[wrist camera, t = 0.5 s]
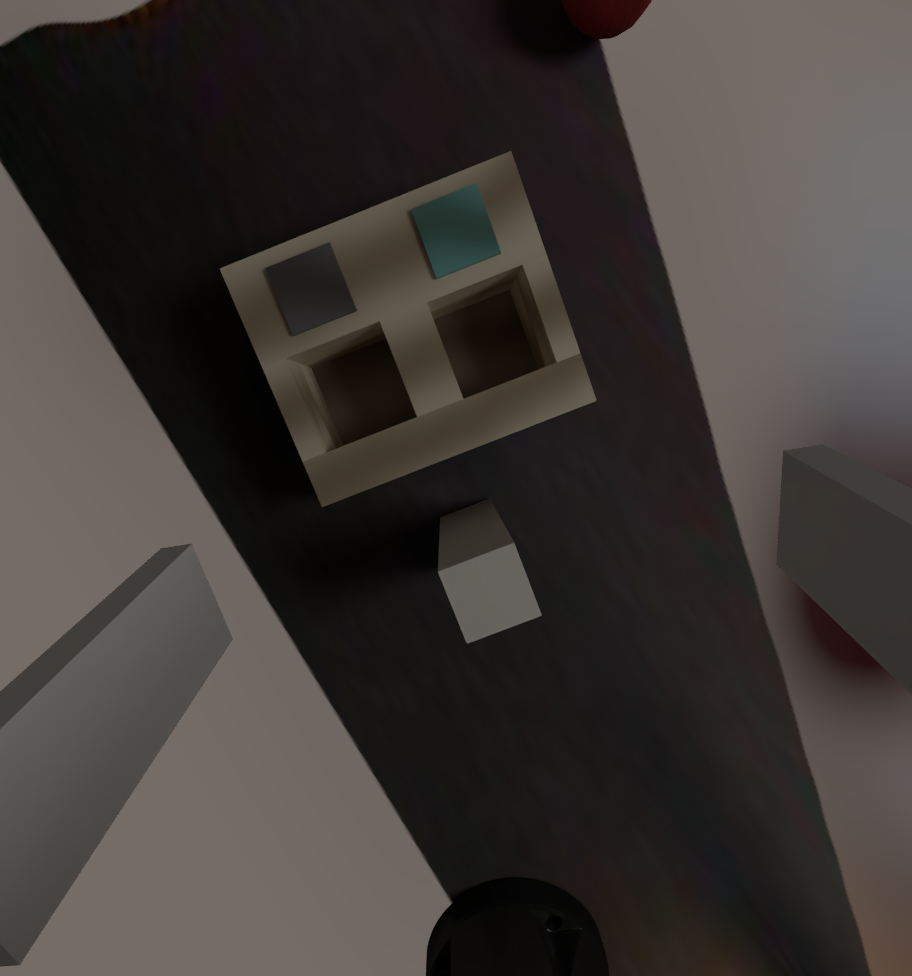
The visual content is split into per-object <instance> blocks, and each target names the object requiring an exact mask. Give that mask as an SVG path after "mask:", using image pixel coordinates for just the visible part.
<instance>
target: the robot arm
mask: <svg viewBox="0 0 912 976" xmlns="http://www.w3.org/2000/svg"><path fill="white" fill-rule="evenodd" d="M782 465H783V466H782V482H781V499H780V500H781V501H780V516H779V533H778V551H777V565H778V566H779V567H780V568H781V569H782V570H783V571H784V572H785V573H786V574H787V575H788V576H789V577H790V578H791V579H792V580H793V581H794V582H795V583H796V584H797V585H799V586H800V587H801V588H802V589H803V590H804V591H805V592H806V593H807V594H808V595H809V596H810V597H811V598H812V599H813V600H814V601H815V602H816V603H817V604H818V605H819V606H820V607H821V608H822V609H823V610H825V611H826V612H827V613H828V614H829V615H830V616H831V617H832V618H833V619H834V620H835V621H836V622H837V623H838V624H839V625H840V626H841V627H842V628H843V629H844V630H845V631H846V632H847V633H848V634H850V636H852V637H853V638H854V639H855V640H856V641H857V642H858V643H859V644H860V645H861V646H862V647H863V648H864V649H865V650H866V651H867V652H868V653H869V654H870V655H871V656H872V657H873V658H874V659H875V660H877V662H879V663H880V664H881V665H882V666H883V667H884V668H885V669H886V670H887V671H888V672H889V673H890V674H891V675H892V676H893V677H894V678H895V679H896V680H897V681H898V682H899V683H900V684H901V685H902V686H903V687H904V688H905V689H906V690H908V691H909V692H910V693H911V694H912V489H911V488H909V487H907V486H905V485H902V484H901V483H899V482H896V481H895V480H893V479H891V478H888V477H887V476H885V475H883V474H880V473H879V472H877V471H875V470H872V469H871V468H868V467H866V466H864V465H862V464H860V463H858V462H856V461H854V460H852V459H850V458H848V457H846V456H844V455H842V454H840V453H838V452H836V451H834V450H832V449H830V448H828V447H826V446H824V445H817V446H811V447H804V448H797V449H791V450H785V451H783V464H782ZM231 641H232V636H231V634H230V631H229V629H228V627H227V625H226V622H225V620H224V618H223V615H222V613H221V611H220V608H219V606H218V603H217V601H216V599H215V597H214V594H213V592H212V590H211V587H210V585H209V583H208V580H207V578H206V576H205V573H204V571H203V569H202V566H201V564H200V562H199V559H198V557H197V555H196V552H195V550H194V548H193V545H192V544H187V545H181V546H174V547H169V548H162V549H160V550H159V551H158V552H157V553H156V554H154V555H153V556H152V557H151V558H150V559H149V560H148V561H147V562H145V563H144V564H143V565H142V566H141V567H140V568H139V569H138V570H137V571H135V572H134V573H133V574H132V575H131V576H130V577H129V578H127V579H126V580H125V581H124V582H123V583H122V584H121V585H120V586H118V587H117V588H116V589H115V590H114V591H113V592H112V593H111V594H109V596H107V597H106V598H105V599H104V600H103V601H102V602H101V603H99V604H98V605H97V606H96V607H95V608H94V609H93V610H91V611H90V612H89V613H88V614H87V615H86V616H85V617H84V618H83V619H81V620H80V621H79V622H78V623H77V624H76V625H75V626H73V627H72V628H71V629H70V630H69V631H68V632H67V633H66V634H65V635H63V636H62V637H61V638H60V639H59V640H58V641H57V642H55V644H53V645H52V646H51V647H50V648H49V649H48V650H47V651H45V652H44V653H43V654H42V655H41V656H40V657H39V658H38V659H36V660H35V661H34V662H33V663H32V664H31V665H30V666H28V667H27V668H26V669H25V670H24V671H23V672H22V673H21V674H19V675H18V676H17V677H16V678H15V679H14V680H13V681H12V682H10V683H9V684H8V685H7V686H6V687H5V688H4V689H3V690H2V691H0V966H13V965H20V964H21V962H22V961H23V959H24V958H25V956H26V955H27V953H28V951H29V950H30V948H31V947H32V945H33V944H34V942H35V941H36V939H37V938H38V936H39V934H40V933H41V931H42V930H43V928H44V927H45V925H46V924H47V922H48V921H49V919H50V918H51V916H52V915H53V913H54V912H55V910H56V909H57V907H58V906H59V904H60V902H61V901H62V899H63V898H64V896H65V895H66V893H67V892H68V890H69V889H70V887H71V886H72V884H73V883H74V881H75V880H76V878H77V877H78V875H79V873H80V872H81V870H82V868H83V867H84V866H85V864H86V863H87V861H88V860H89V858H90V857H91V855H92V853H93V852H94V850H95V849H96V847H97V846H98V844H99V843H100V841H101V840H102V838H103V837H104V835H105V834H106V832H107V831H108V829H109V828H110V826H111V824H112V823H113V821H114V820H115V818H116V817H117V815H118V814H119V812H120V811H121V809H122V808H123V806H124V805H125V803H126V802H127V800H128V798H129V797H130V795H131V794H132V792H133V791H134V789H135V788H136V786H137V785H138V783H139V782H140V780H141V779H142V777H143V775H144V774H145V772H146V771H147V769H148V768H149V766H150V765H151V763H152V762H153V760H154V759H155V757H156V756H157V754H158V753H159V751H160V749H161V748H162V746H163V745H164V743H165V742H166V740H167V739H168V737H169V736H170V734H171V733H172V731H173V730H174V728H175V727H176V725H177V723H178V722H179V720H180V719H181V717H182V716H183V714H184V713H185V711H186V710H187V708H188V706H189V705H190V704H191V702H192V700H193V699H194V697H195V696H196V694H197V693H198V691H199V690H200V688H201V687H202V685H203V684H204V682H205V680H206V679H207V677H208V676H209V674H210V673H211V671H212V669H213V668H214V667H215V665H216V664H217V662H218V661H219V659H220V658H221V656H222V655H223V653H224V651H225V650H226V648H227V647H228V645H229V644H230V642H231ZM426 964H427V965H426V976H609V968H608V962H607V957H606V953H605V950H604V947H603V943H602V940H601V937H600V933H599V930H598V927H597V925H596V923H595V921H594V919H593V918H592V916H591V915H590V913H589V912H588V910H587V909H586V908H585V907H584V906H583V905H582V904H581V903H580V902H579V901H578V900H577V899H576V898H575V897H573V896H572V895H570V894H569V893H567V892H566V891H564V890H562V889H560V888H558V887H556V886H554V885H551V884H548V883H545V882H541V881H536V880H530V879H507V880H500V881H495V882H491V883H488V884H485V885H482V886H479V887H477V888H475V889H473V890H471V891H469V892H467V893H466V894H464V895H463V896H461V897H460V898H458V899H457V900H456V901H455V902H454V903H452V904H451V905H450V906H449V908H447V910H445V912H444V913H443V914H442V916H441V917H440V918H439V920H438V921H437V923H436V925H435V927H434V929H433V931H432V933H431V936H430V939H429V943H428V947H427V962H426Z"/></svg>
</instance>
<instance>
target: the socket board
mask: <svg viewBox="0 0 912 976" xmlns="http://www.w3.org/2000/svg"><path fill="white" fill-rule="evenodd" d="M220 271H221V273H222V275H223V278H224V280H225V282H226V285H227V287H228V289H229V292H230V294H231V296H232V299H233V301H234V303H235V306H236V308H237V310H238V313H239V315H240V317H241V320H242V322H243V324H244V327H245V329H246V331H247V334H248V336H249V338H250V340H251V343H252V345H253V347H254V350H255V352H256V354H257V357H258V359H259V361H260V364H261V366H262V368H263V371H264V373H265V375H266V378H267V380H268V382H269V385H270V387H271V389H272V392H273V394H274V396H275V399H276V401H277V403H278V406H279V408H280V410H281V413H282V415H283V417H284V420H285V422H286V424H287V427H288V429H289V431H290V434H291V436H292V438H293V441H294V443H295V445H296V448H297V450H298V452H299V455H300V457H301V459H302V462H303V464H304V466H305V468H306V471H307V473H308V475H309V478H310V480H311V482H312V485H313V487H314V489H315V492H316V494H317V496H318V499H319V501H320V503H321V506H322V507H324V506H326V505H329V504H331V503H334V502H336V501H339V500H342V499H344V498H347V497H349V496H352V495H355V494H357V493H360V492H362V491H365V490H367V489H370V488H373V487H375V486H378V485H380V484H383V483H385V482H388V481H391V480H393V479H396V478H398V477H401V476H404V475H406V474H409V473H411V472H414V471H416V470H419V469H422V468H424V467H427V466H429V465H432V464H434V463H437V462H440V461H442V460H445V459H447V458H450V457H453V456H455V455H458V454H460V453H463V452H465V451H468V450H471V449H473V448H476V447H478V446H481V445H483V444H486V443H489V442H491V441H494V440H496V439H499V438H502V437H504V436H507V435H509V434H512V433H514V432H517V431H520V430H522V429H525V428H527V427H530V426H532V425H535V424H538V423H540V422H543V421H545V420H548V419H551V418H553V417H556V416H558V415H561V414H563V413H566V412H569V411H571V410H574V409H576V408H579V407H582V406H584V405H587V404H589V403H592V402H594V401H596V398H595V395H594V392H593V389H592V386H591V383H590V380H589V377H588V374H587V371H586V368H585V366H584V363H583V360H582V357H581V354H580V351H579V348H578V345H577V342H576V339H575V336H574V333H573V330H572V328H571V325H570V322H569V319H568V316H567V313H566V310H565V307H564V304H563V301H562V298H561V295H560V293H559V290H558V287H557V284H556V281H555V278H554V275H553V272H552V269H551V266H550V263H549V260H548V257H547V255H546V252H545V249H544V246H543V243H542V240H541V237H540V234H539V231H538V228H537V225H536V222H535V220H534V217H533V214H532V211H531V208H530V205H529V202H528V199H527V196H526V193H525V190H524V187H523V185H522V182H521V179H520V176H519V173H518V170H517V167H516V164H515V161H514V158H513V155H512V152H511V151H510V152H507V153H505V154H502V155H500V156H497V157H495V158H493V159H490V160H488V161H485V162H483V163H480V164H478V165H475V166H473V167H470V168H468V169H465V170H463V171H460V172H458V173H455V174H453V175H450V176H448V177H445V178H443V179H441V180H438V181H436V182H433V183H431V184H428V185H426V186H423V187H421V188H418V189H416V190H413V191H411V192H408V193H406V194H403V195H401V196H398V197H396V198H393V199H391V200H389V201H386V202H384V203H381V204H379V205H376V206H374V207H371V208H369V209H366V210H364V211H361V212H359V213H356V214H354V215H351V216H349V217H346V218H344V219H341V220H339V221H337V222H334V223H332V224H329V225H327V226H324V227H322V228H319V229H317V230H314V231H312V232H309V233H307V234H304V235H302V236H299V237H297V238H294V239H292V240H289V241H287V242H285V243H282V244H280V245H277V246H275V247H272V248H270V249H267V250H265V251H262V252H260V253H257V254H255V255H252V256H250V257H247V258H245V259H242V260H240V261H237V262H235V263H233V264H230V265H228V266H225V267H223V268H220Z"/></svg>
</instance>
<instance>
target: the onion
mask: <svg viewBox="0 0 912 976" xmlns="http://www.w3.org/2000/svg"><path fill="white" fill-rule="evenodd" d="M650 3H651V0H562V4H563V7H564V10H565V12H566V14H567V16H568V17H569V19H570V21H571V23H572V24H573V25H574V26H575V27H576V28H577V29H578V30H579V31H580V32H581V33H582V34H585V35H587V36H590V37H592V38H594V39H606V38H612V37H615V36H617V35H619V34H621V33H622V32H624V31H626V30H627V29H629V28H630V27H632V26H633V25H634V24H635V22H636V21H637V20H638V19H639V17H640V16H641V15H642V14H643V12H644V11H645V10H646V8H647V7H648V5H649V4H650Z"/></svg>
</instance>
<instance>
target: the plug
mask: <svg viewBox="0 0 912 976" xmlns="http://www.w3.org/2000/svg"><path fill="white" fill-rule="evenodd" d="M438 573H439V576H440V578H441V581H442V583H443V586H444V588H445V591H446V593H447V596H448V598H449V600H450V603H451V605H452V608H453V610H454V613H455V615H456V618H457V620H458V623H459V625H460V628H461V630H462V633H463V635H464V638H465V640H466V642H467V643H470V642H473V641H475V640H478V639H481V638H483V637H486V636H489V635H491V634H494V633H497V632H499V631H502V630H505V629H507V628H510V627H513V626H515V625H518V624H521V623H523V622H526V621H528V620H531V619H534V618H536V617H539V616H542V615H541V612H540V610H539V607H538V604H537V602H536V599H535V596H534V594H533V591H532V589H531V586H530V583H529V581H528V578H527V575H526V573H525V570H524V567H523V565H522V562H521V560H520V557H519V554H518V552H517V549H516V546H515V544H514V542H513V540H512V538H511V536H510V534H509V533H508V531H507V529H506V527H505V525H504V524H503V522H502V520H501V518H500V516H499V515H498V513H497V511H496V509H495V508H494V506H493V504H492V502H491V500H490V499H487V500H484V501H482V502H479V503H476V504H474V505H471V506H469V507H466V508H463V509H461V510H458V511H456V512H453V513H450V514H448V515H445V516H443V517H440V534H439V557H438Z"/></svg>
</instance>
